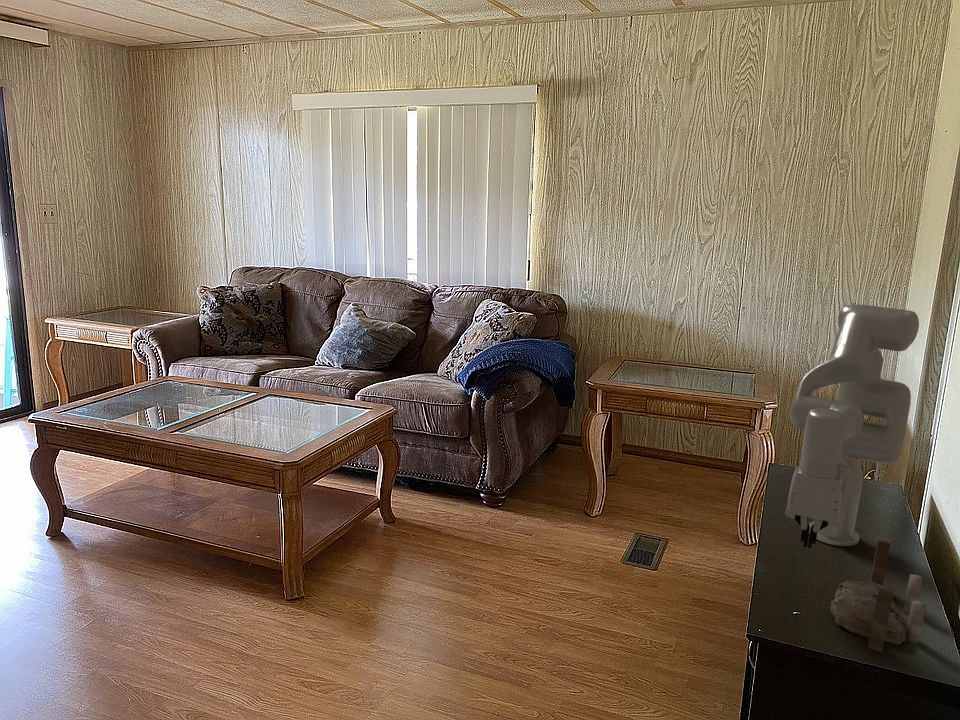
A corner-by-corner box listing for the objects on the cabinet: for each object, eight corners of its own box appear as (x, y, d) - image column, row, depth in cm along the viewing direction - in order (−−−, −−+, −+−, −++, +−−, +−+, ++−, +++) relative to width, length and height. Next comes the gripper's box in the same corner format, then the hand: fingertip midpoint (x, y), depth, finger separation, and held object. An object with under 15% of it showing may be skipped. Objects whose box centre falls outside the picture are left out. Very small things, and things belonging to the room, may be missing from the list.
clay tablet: (833, 585, 170) (826, 626, 152) (837, 565, 169) (831, 605, 151) (903, 604, 163) (904, 650, 146) (908, 584, 162) (909, 628, 145)
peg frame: (869, 585, 169) (878, 536, 167) (914, 596, 166) (924, 546, 163) (868, 648, 146) (878, 592, 143) (920, 662, 142) (932, 606, 139)
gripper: (859, 467, 157) (846, 545, 162) (783, 454, 163) (773, 529, 168) (858, 481, 150) (844, 562, 155) (779, 466, 157) (768, 544, 162)
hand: (807, 544), depth 162 cm, fingers closed
